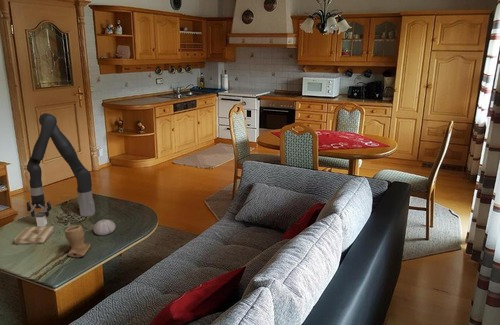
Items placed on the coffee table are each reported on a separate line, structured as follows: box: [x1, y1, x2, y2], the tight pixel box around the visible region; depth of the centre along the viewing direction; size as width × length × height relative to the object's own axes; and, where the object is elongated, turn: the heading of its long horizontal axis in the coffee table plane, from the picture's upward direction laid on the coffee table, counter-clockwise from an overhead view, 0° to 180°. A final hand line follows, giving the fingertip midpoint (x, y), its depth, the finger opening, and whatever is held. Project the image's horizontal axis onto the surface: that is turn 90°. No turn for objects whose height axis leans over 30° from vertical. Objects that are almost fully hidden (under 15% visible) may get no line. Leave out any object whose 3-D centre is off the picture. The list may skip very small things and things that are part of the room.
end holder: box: [14, 225, 55, 246], centre depth 248 cm, size 16×16×4 cm
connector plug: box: [35, 211, 48, 227], centre depth 266 cm, size 5×5×8 cm
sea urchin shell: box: [93, 218, 116, 236], centre depth 256 cm, size 13×14×8 cm
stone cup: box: [64, 224, 91, 259], centre depth 229 cm, size 15×12×15 cm
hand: (40, 216), depth 265 cm, fingers open, 8 cm apart
